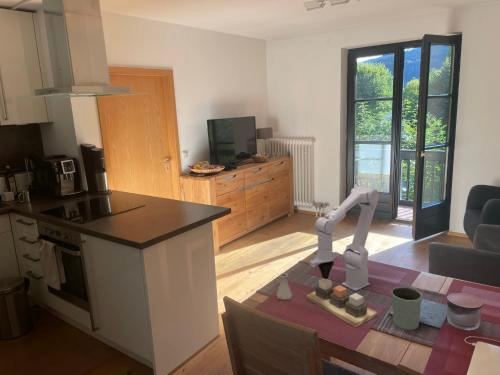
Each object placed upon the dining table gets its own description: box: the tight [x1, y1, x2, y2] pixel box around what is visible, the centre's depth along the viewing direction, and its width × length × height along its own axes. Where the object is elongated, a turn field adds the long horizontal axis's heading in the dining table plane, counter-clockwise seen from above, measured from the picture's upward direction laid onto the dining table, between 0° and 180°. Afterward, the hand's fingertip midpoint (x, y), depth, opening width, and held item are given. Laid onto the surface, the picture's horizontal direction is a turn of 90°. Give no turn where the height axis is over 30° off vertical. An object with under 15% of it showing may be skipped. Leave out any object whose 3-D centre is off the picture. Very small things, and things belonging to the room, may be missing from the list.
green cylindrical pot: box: [390, 286, 423, 331], centre depth 133 cm, size 10×10×12 cm
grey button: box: [349, 292, 364, 307], centre depth 138 cm, size 4×4×3 cm
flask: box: [275, 272, 294, 301], centre depth 155 cm, size 7×7×10 cm
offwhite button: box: [318, 278, 333, 291], centre depth 151 cm, size 4×4×3 cm
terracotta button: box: [333, 284, 348, 299], centre depth 145 cm, size 4×4×3 cm
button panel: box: [305, 284, 378, 328], centre depth 146 cm, size 12×26×5 cm, turn 34°
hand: (325, 278), depth 151 cm, fingers closed
